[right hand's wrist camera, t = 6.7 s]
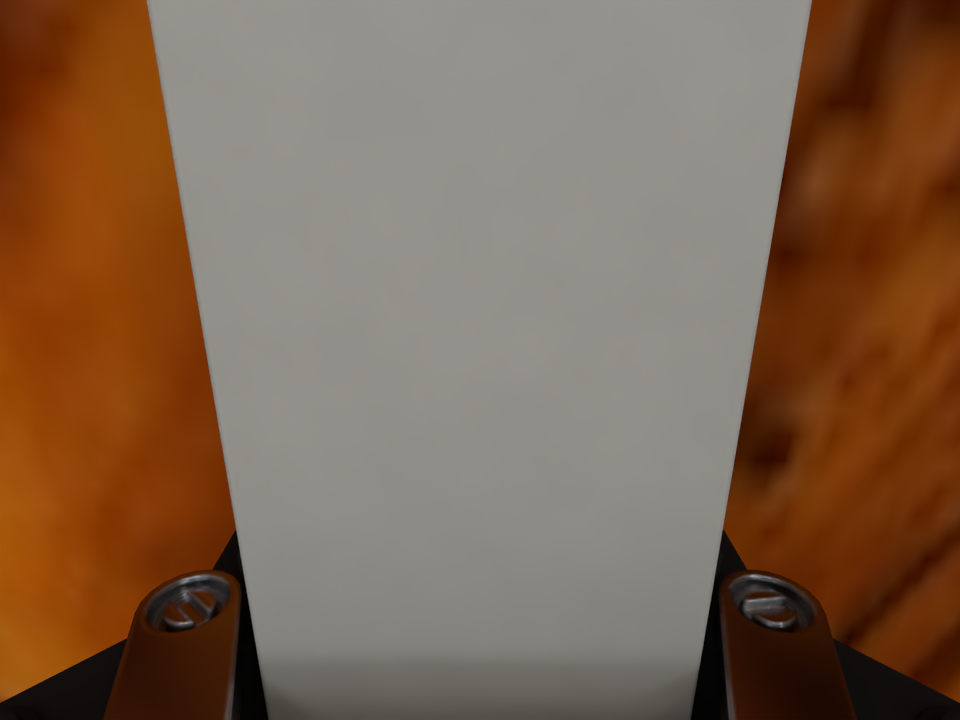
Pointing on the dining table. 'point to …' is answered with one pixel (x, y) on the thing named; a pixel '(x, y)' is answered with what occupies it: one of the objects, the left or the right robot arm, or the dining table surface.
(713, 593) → the right robot arm
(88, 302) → the dining table surface
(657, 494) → the bar
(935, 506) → the dining table surface
